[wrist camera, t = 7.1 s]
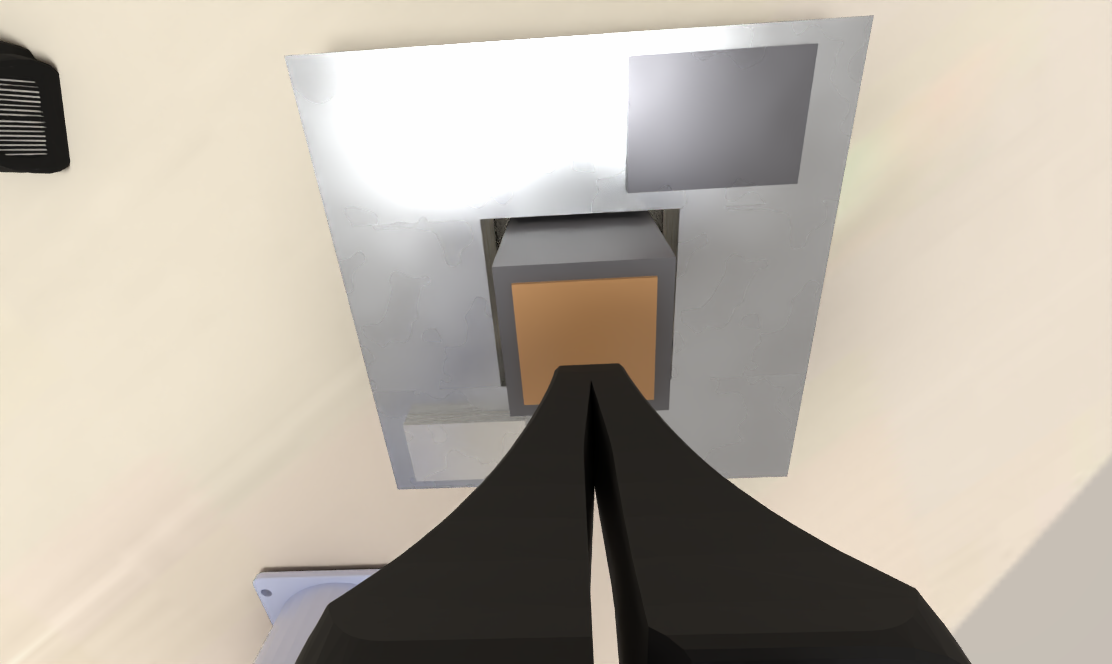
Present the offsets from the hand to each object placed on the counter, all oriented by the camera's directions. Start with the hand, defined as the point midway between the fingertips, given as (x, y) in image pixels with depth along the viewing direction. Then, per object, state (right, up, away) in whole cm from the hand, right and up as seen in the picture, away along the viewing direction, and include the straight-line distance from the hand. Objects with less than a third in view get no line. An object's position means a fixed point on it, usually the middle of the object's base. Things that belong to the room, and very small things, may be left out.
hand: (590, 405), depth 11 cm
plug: (0, +4, +7) cm, 8 cm away
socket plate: (0, +3, +7) cm, 8 cm away
